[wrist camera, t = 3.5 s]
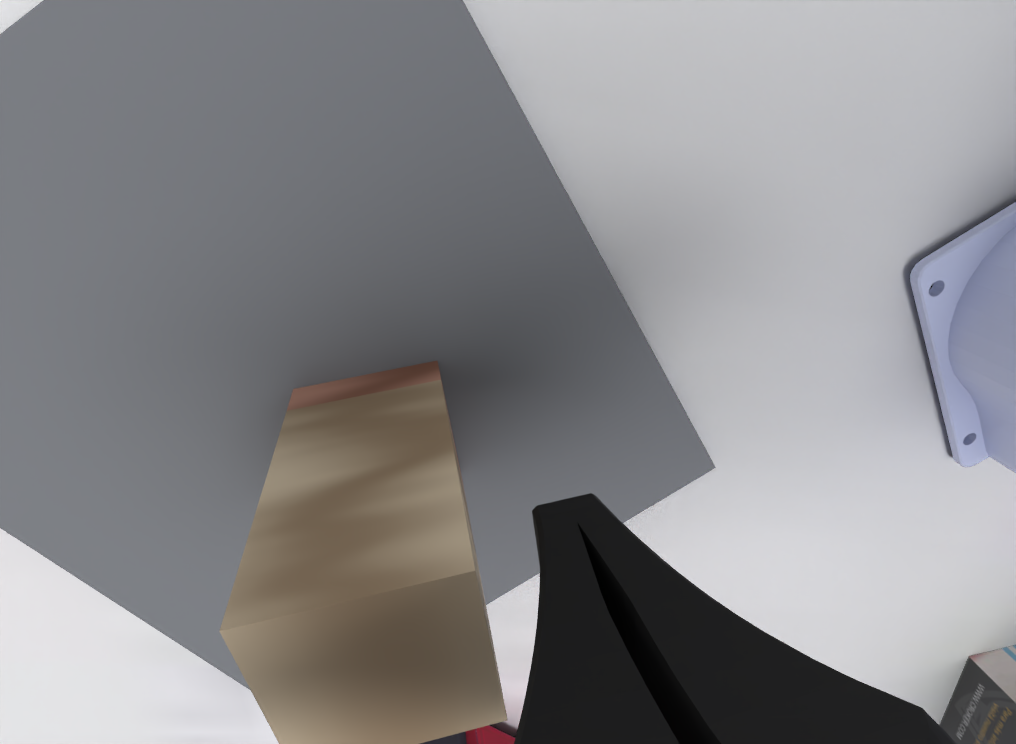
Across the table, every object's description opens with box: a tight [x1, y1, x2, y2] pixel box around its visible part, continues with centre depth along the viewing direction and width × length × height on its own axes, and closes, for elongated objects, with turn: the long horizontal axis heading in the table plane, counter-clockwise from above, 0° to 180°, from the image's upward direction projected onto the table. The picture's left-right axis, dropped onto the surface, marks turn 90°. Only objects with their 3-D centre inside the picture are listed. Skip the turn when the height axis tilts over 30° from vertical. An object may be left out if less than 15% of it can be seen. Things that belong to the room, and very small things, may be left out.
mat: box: [0, 0, 715, 689], centre depth 16 cm, size 20×18×1 cm
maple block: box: [219, 361, 507, 744], centre depth 14 cm, size 4×4×8 cm
